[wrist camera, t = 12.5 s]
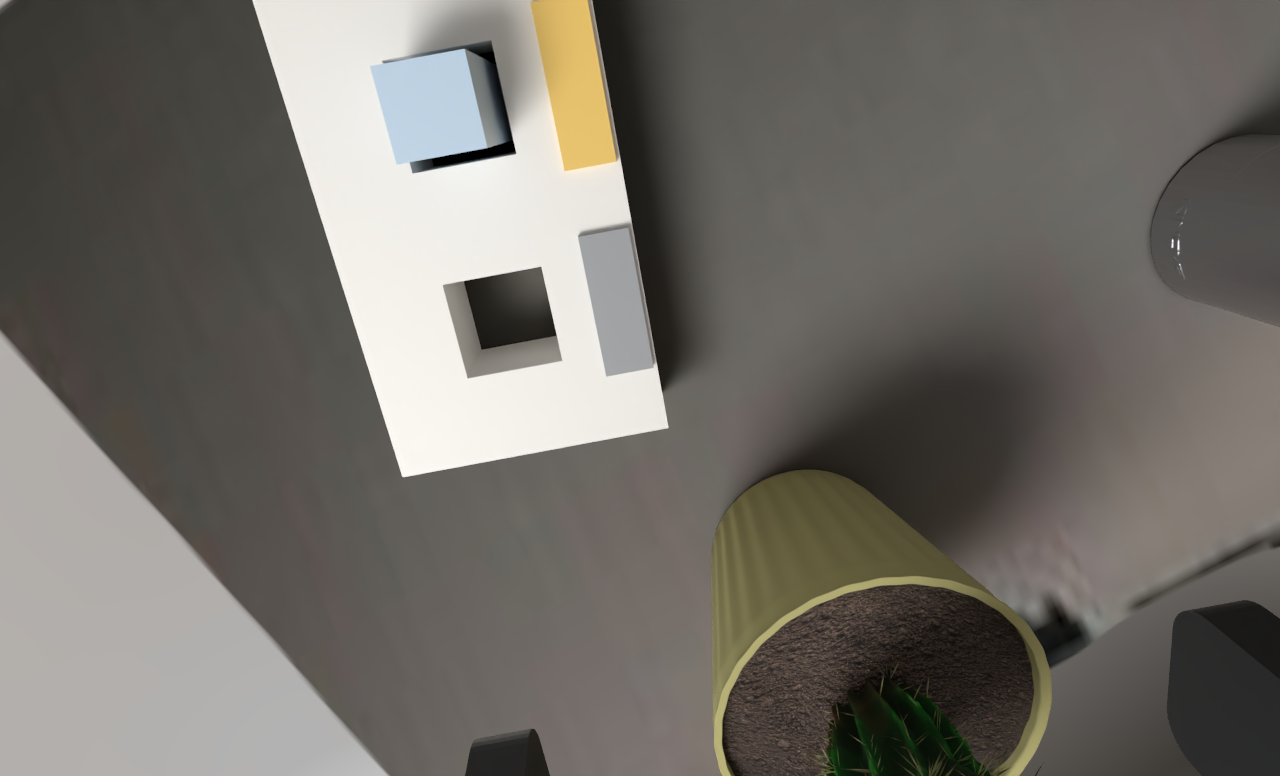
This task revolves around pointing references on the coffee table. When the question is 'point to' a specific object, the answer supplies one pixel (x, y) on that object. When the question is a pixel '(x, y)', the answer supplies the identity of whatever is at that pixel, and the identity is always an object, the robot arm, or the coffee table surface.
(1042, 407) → the coffee table surface
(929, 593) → the potted cactus
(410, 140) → the plug
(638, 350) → the port panel
